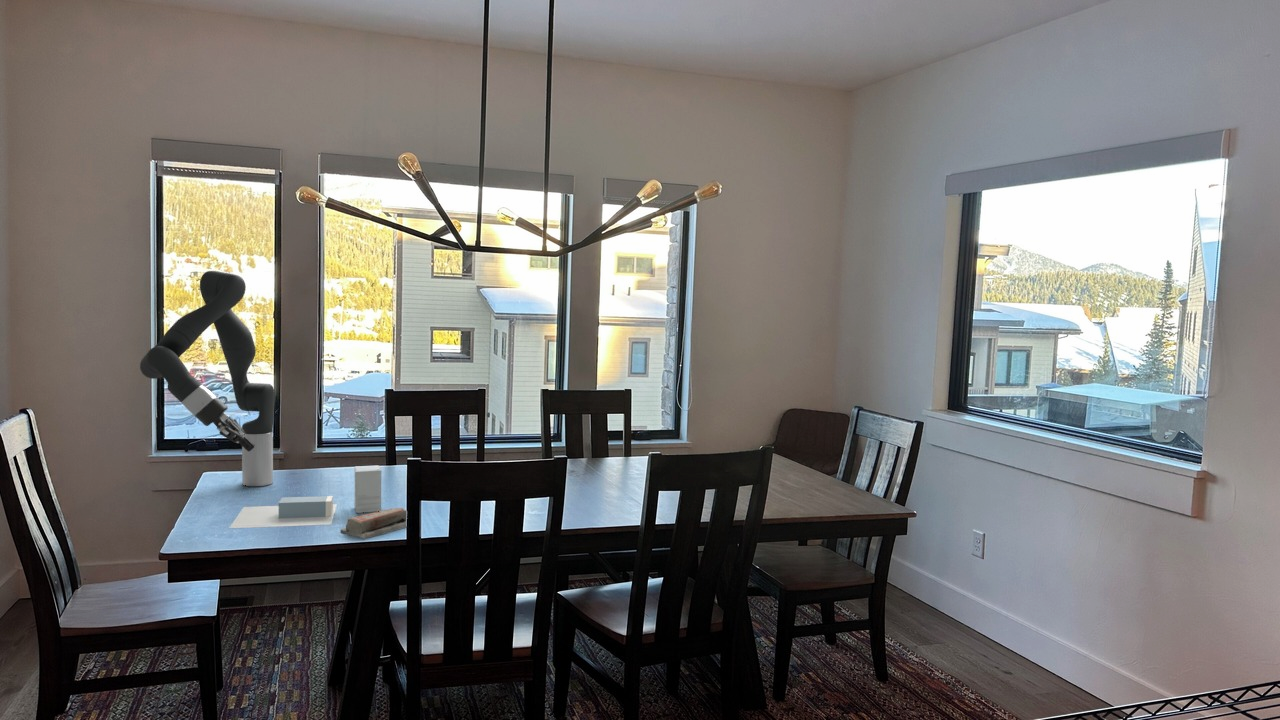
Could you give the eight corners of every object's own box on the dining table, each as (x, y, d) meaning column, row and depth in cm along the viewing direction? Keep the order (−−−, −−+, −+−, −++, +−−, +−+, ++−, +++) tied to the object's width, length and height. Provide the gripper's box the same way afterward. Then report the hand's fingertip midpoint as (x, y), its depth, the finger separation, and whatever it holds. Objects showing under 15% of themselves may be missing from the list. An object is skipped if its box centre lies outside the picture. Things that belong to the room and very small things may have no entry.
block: (281, 497, 243) (333, 496, 247) (281, 512, 244) (332, 511, 248) (278, 502, 238) (331, 501, 241) (278, 518, 238) (331, 516, 242)
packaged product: (364, 523, 223) (340, 516, 229) (364, 540, 224) (340, 533, 229) (416, 509, 238) (392, 503, 244) (416, 525, 239) (392, 519, 244)
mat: (243, 508, 248) (243, 507, 248) (337, 505, 256) (337, 503, 255) (228, 529, 227) (228, 528, 227) (331, 525, 234) (331, 524, 234)
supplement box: (379, 505, 257) (380, 464, 256) (381, 512, 250) (381, 470, 249) (354, 507, 254) (354, 465, 253) (355, 513, 247) (355, 471, 246)
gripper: (210, 399, 227) (258, 444, 232) (220, 392, 240) (266, 435, 245) (188, 418, 226) (237, 463, 231) (199, 410, 239) (246, 453, 244)
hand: (252, 448), depth 238 cm, fingers closed
